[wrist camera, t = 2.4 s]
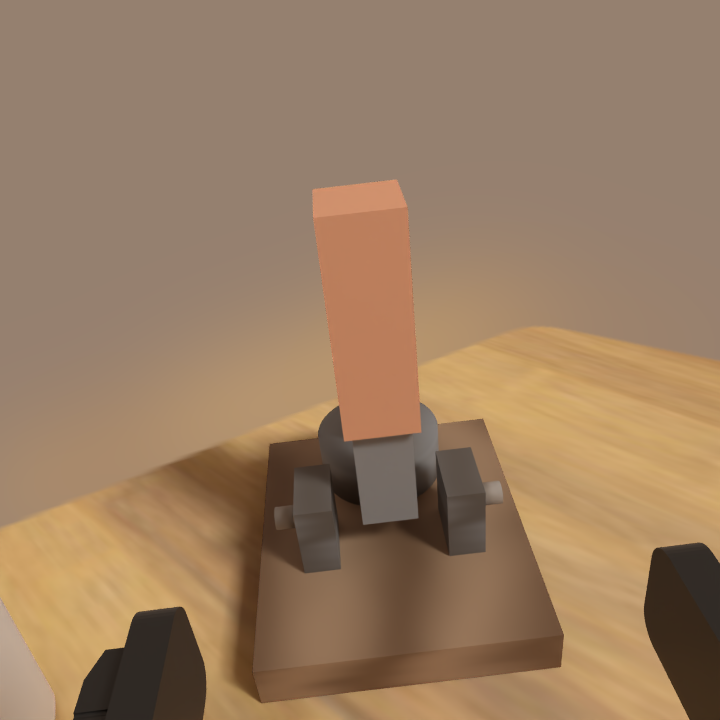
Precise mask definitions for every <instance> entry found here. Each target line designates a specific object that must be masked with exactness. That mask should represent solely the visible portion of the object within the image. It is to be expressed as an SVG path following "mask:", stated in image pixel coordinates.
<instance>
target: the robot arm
mask: <svg viewBox="0 0 720 720" xmlns="http://www.w3.org/2000/svg"><path fill="white" fill-rule="evenodd" d="M644 617H645V623H646V628H647V631H648V635H649V638H650V640H651V643H652V645H653V647H654V649H655V651H656V653H657V655H658V657H659V659H660V661H661V663H662V665H663V667H664V669H665V671H666V673H667V675H668V677H669V679H670V681H671V683H672V685H673V687H674V689H675V691H676V693H677V695H678V697H679V699H680V701H681V703H682V705H683V707H684V709H685V711H686V713H687V715H688V717H689V719H690V720H720V563H719V562H718V560H717V559H716V557H715V556H714V554H713V553H712V552H711V550H710V549H709V548H708V547H707V546H706V545H705V544H703V543H692V544H684V545H676V546H668V547H660V548H656V549H655V550H654V551H653V553H652V558H651V565H650V571H649V578H648V584H647V591H646V597H645V603H644ZM205 700H206V673H205V666H204V661H203V658H202V656H201V653H200V650H199V647H198V645H197V642H196V639H195V636H194V634H193V631H192V628H191V625H190V623H189V620H188V617H187V614H186V612H185V610H184V608H182V607H174V608H166V609H158V610H150V611H142V612H137V613H136V614H135V616H134V617H133V619H132V622H131V626H130V629H129V633H128V637H127V640H126V644H125V648H118V649H110V650H105V651H104V653H103V654H102V656H101V657H100V658H99V660H98V661H97V663H96V664H95V665H94V667H93V668H92V670H91V671H90V672H89V674H88V675H87V677H86V678H85V679H84V682H83V685H82V688H81V691H80V694H79V698H78V701H77V704H76V707H75V710H74V713H73V714H74V719H73V720H203V714H204V707H205Z"/></svg>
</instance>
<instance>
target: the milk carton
mask: <svg viewBox="0 0 720 720" xmlns="http://www.w3.org/2000/svg"><path fill="white" fill-rule="evenodd" d="M0 720H55V695H54V693H53V691H52V689H51V687H50V685H49V684H48V682H47V680H46V678H45V676H44V675H43V673H42V671H41V669H40V668H39V666H38V664H37V662H36V660H35V659H34V657H33V655H32V653H31V651H30V650H29V648H28V646H27V644H26V643H25V641H24V639H23V637H22V635H21V634H20V632H19V630H18V628H17V626H16V625H15V623H14V621H13V619H12V618H11V616H10V614H9V612H8V610H7V609H6V607H5V605H4V603H3V602H2V600H1V598H0Z"/></svg>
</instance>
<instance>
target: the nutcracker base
mask: <svg viewBox="0 0 720 720" xmlns="http://www.w3.org/2000/svg"><path fill="white" fill-rule="evenodd" d="M420 417H421V433H413V447H414V461H415V475H416V490H417V504H418V518H417V519H408V520H400V521H392V522H383V523H375V524H366V525H363V520H362V512H361V505H360V497H359V489H358V482H357V474H356V466H355V459H354V451H353V443H352V441H345V442H344V437H343V430H342V423H341V415H340V408H339V406H337V407H336V408H334V409H333V410H332V411H331V412H329V413H328V414H327V416H326V417H325V418H324V419H323V421H322V423H321V424H320V427H319V431H318V438H316V439H308V440H299V441H291V442H282V443H274V444H270V447H269V460H268V474H267V487H266V500H265V513H264V526H263V539H262V553H261V566H260V579H259V592H258V605H257V618H256V632H255V645H254V658H253V671H252V673H253V676H254V679H255V683H256V686H257V690H258V693H259V696H260V700H261V703H265V702H274V701H282V700H290V699H298V698H307V697H315V696H323V695H332V694H340V693H348V692H356V691H365V690H373V689H381V688H390V687H398V686H406V685H414V684H423V683H431V682H439V681H448V680H456V679H464V678H472V677H481V676H489V675H497V674H506V673H514V672H522V671H530V670H539V669H547V668H555V667H561V659H562V649H563V638H564V634H563V631H562V629H561V626H560V623H559V621H558V618H557V615H556V613H555V610H554V607H553V605H552V602H551V599H550V597H549V594H548V591H547V589H546V586H545V583H544V581H543V578H542V575H541V573H540V570H539V567H538V565H537V562H536V559H535V557H534V554H533V551H532V549H531V546H530V543H529V541H528V538H527V535H526V533H525V530H524V527H523V524H522V522H521V519H520V516H519V514H518V511H517V508H516V506H515V503H514V500H513V498H512V495H511V492H510V490H509V487H508V484H507V482H506V479H505V476H504V474H503V471H502V468H501V466H500V463H499V460H498V458H497V455H496V452H495V450H494V447H493V444H492V442H491V439H490V436H489V434H488V431H487V428H486V426H485V423H484V420H483V419H477V420H469V421H460V422H452V423H443V424H437V420H436V418H435V416H434V414H433V413H432V411H431V410H430V409H429V408H428V407H426V406H425V405H424V404H422V403H420Z"/></svg>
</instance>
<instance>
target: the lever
mask: <svg viewBox="0 0 720 720" xmlns="http://www.w3.org/2000/svg"><path fill="white" fill-rule="evenodd" d="M313 219H314V227H315V234H316V241H317V248H318V256H319V262H320V270H321V277H322V285H323V291H324V299H325V306H326V314H327V320H328V328H329V335H330V343H331V350H332V357H333V365H334V372H335V379H336V386H337V393H338V401H339V408H340V415H341V423H342V430H343V437H344V442H345V441H352V443H353V451H354V459H355V466H356V474H357V482H358V489H359V497H360V505H361V512H362V520H363V525H366V524H375V523H383V522H392V521H400V520H408V519H417V518H418V504H417V490H416V475H415V461H414V447H413V433H421V417H420V401H419V385H418V368H417V352H416V337H415V320H414V303H413V288H412V271H411V255H410V240H409V223H408V207H407V204H406V202H405V199H404V197H403V194H402V192H401V189H400V186H399V184H398V181H397V180H389V181H381V182H372V183H363V184H354V185H345V186H337V187H329V188H319V189H313Z"/></svg>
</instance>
